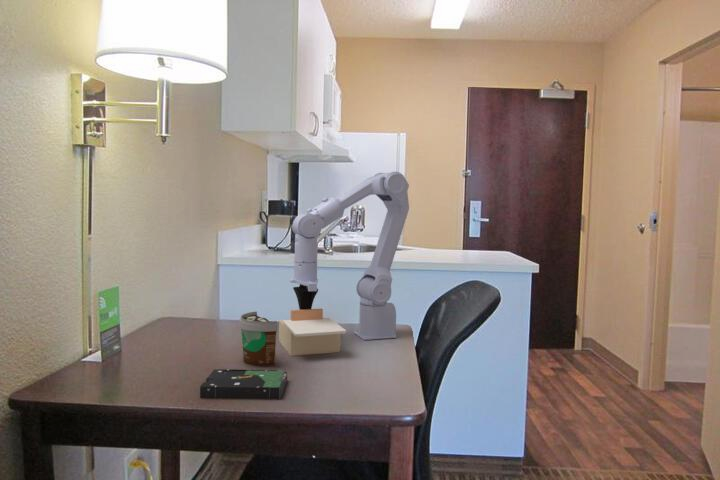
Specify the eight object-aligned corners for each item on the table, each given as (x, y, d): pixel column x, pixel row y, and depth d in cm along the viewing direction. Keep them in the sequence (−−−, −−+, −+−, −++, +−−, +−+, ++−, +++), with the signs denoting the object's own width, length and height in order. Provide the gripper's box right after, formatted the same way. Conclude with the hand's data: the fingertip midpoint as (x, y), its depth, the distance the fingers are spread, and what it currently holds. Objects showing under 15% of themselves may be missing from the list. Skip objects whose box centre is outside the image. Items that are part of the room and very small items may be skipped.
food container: (230, 356, 123) (230, 313, 122) (255, 352, 126) (255, 310, 125) (250, 371, 112) (250, 324, 112) (277, 367, 116) (277, 321, 115)
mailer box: (323, 337, 141) (324, 317, 141) (340, 351, 128) (340, 330, 128) (278, 340, 137) (279, 320, 137) (290, 355, 124) (291, 333, 124)
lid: (329, 320, 137) (329, 308, 137) (346, 333, 124) (346, 320, 124) (282, 322, 133) (282, 310, 133) (295, 336, 120) (295, 323, 119)
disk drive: (199, 401, 97) (281, 401, 97) (199, 386, 97) (281, 386, 97) (213, 382, 107) (287, 382, 108) (213, 368, 107) (287, 368, 108)
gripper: (284, 258, 140) (283, 310, 141) (296, 265, 127) (296, 322, 128) (310, 258, 143) (309, 308, 144) (325, 265, 129) (324, 320, 130)
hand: (305, 315), depth 136 cm, fingers closed
